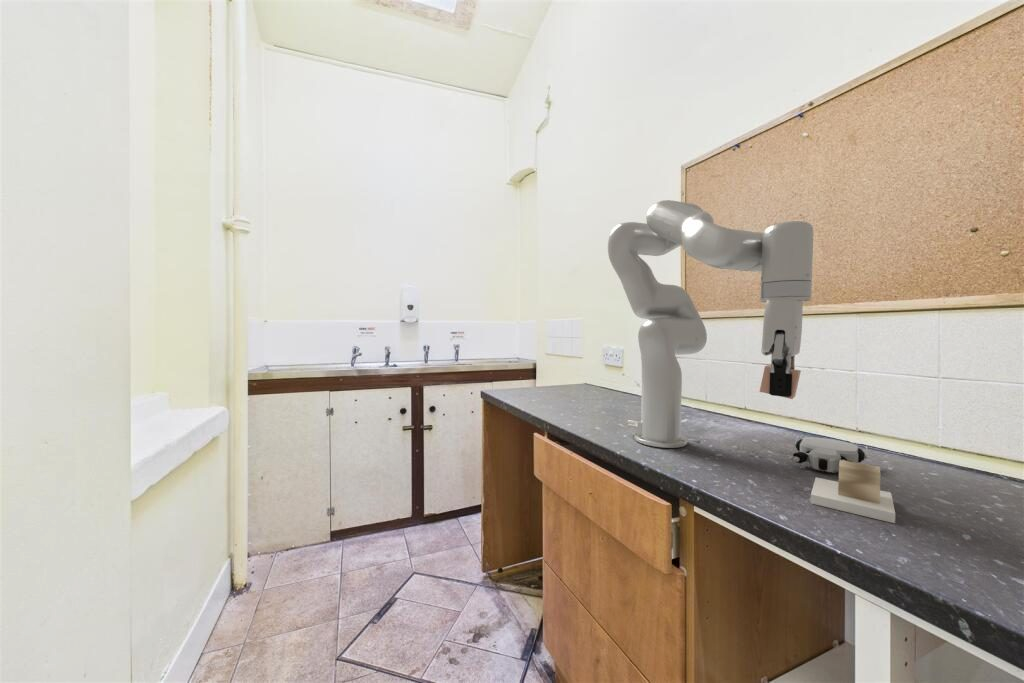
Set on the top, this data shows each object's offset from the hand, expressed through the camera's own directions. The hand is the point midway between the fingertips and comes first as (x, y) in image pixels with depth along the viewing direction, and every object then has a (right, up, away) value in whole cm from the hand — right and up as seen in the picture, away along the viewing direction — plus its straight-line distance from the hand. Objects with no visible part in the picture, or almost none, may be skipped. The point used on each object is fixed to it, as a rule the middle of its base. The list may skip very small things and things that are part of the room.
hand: (782, 393), depth 71 cm
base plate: (+7, -17, -6) cm, 20 cm away
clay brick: (-1, 0, +1) cm, 1 cm away
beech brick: (+8, -16, -7) cm, 19 cm away
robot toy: (+18, -17, +12) cm, 27 cm away
